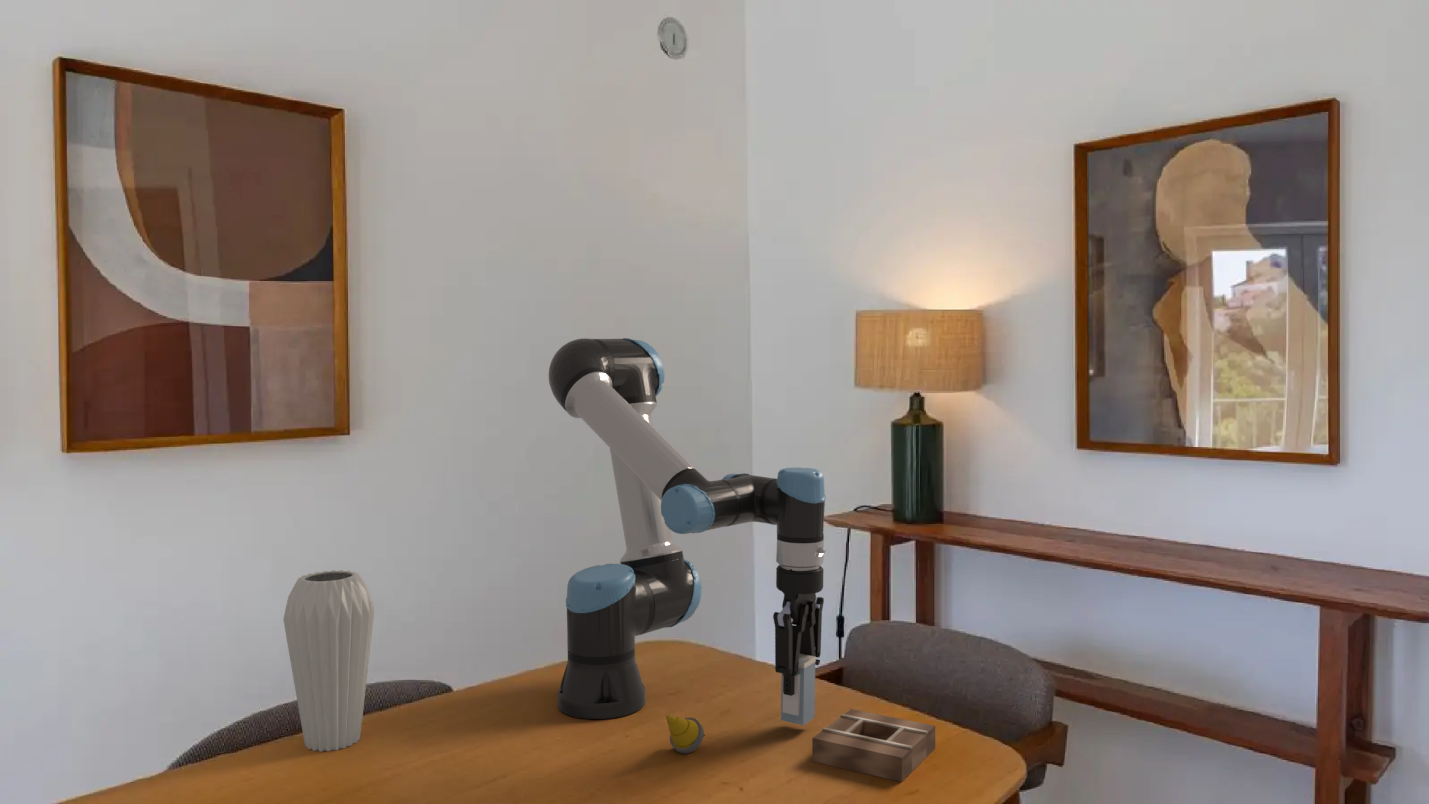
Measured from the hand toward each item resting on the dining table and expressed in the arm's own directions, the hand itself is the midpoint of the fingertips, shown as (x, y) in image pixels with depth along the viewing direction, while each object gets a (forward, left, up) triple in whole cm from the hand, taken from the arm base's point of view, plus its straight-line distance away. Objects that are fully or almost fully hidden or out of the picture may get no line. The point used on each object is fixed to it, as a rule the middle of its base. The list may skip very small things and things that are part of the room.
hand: (797, 708), depth 158 cm
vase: (-60, -42, -4) cm, 74 cm away
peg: (0, 0, -2) cm, 2 cm away
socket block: (+15, -3, -3) cm, 15 cm away
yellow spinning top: (-10, -17, -4) cm, 20 cm away
